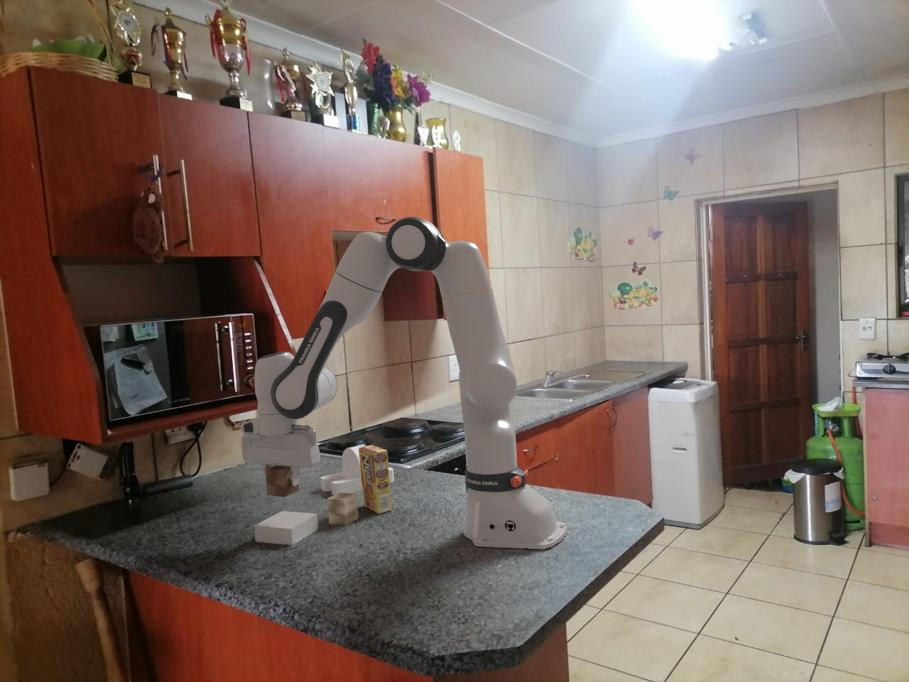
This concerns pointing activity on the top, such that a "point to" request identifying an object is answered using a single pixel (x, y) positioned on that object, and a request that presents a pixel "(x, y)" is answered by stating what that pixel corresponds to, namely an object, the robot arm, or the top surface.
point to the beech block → (342, 508)
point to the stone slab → (286, 527)
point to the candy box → (375, 478)
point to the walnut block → (279, 481)
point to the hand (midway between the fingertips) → (282, 483)
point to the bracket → (347, 474)
